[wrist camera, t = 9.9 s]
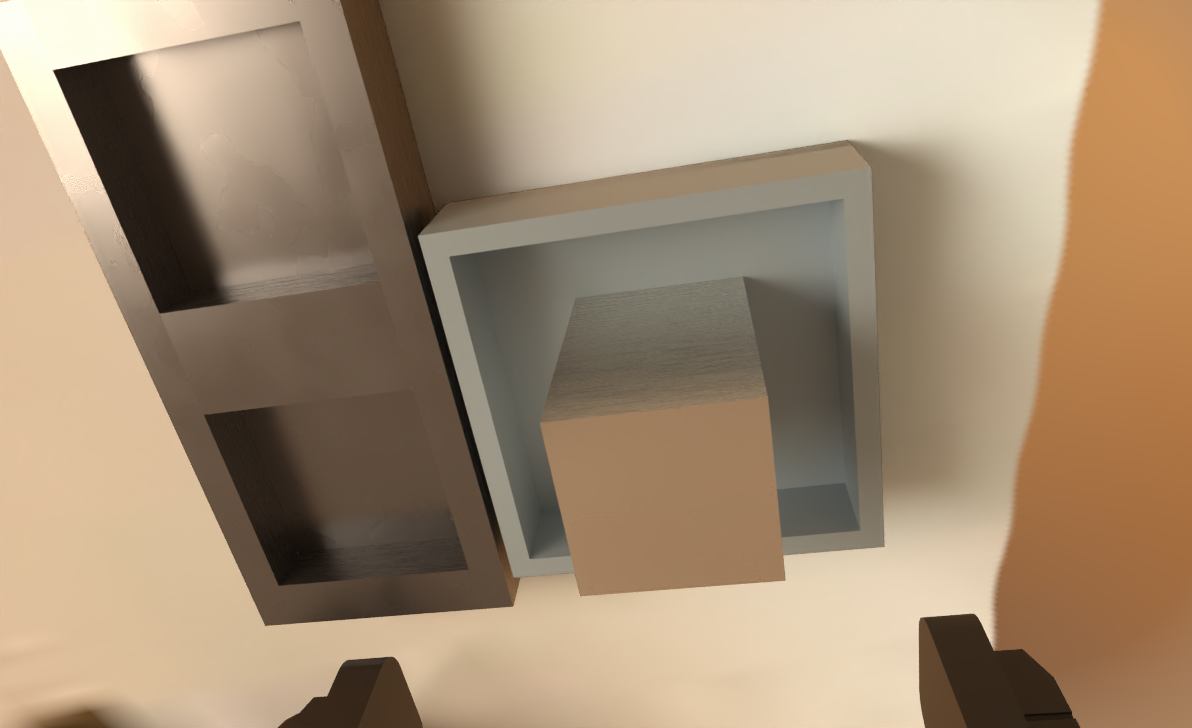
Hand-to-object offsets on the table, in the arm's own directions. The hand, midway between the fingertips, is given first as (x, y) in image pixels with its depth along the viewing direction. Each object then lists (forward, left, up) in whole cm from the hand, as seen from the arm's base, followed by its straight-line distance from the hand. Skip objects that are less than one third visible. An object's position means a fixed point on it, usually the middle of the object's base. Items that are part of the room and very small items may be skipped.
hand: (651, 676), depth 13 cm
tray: (0, 0, -12) cm, 12 cm away
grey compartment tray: (-2, -9, -12) cm, 15 cm away
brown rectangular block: (0, 0, -11) cm, 11 cm away
